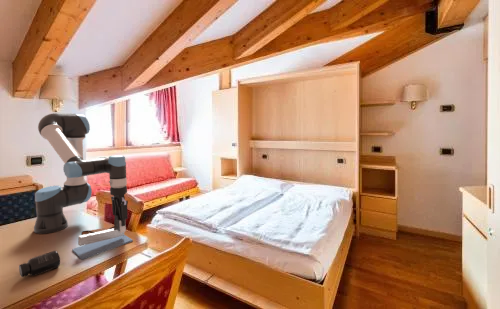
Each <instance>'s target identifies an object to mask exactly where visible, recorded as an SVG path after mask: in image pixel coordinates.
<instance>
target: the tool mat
mask: <svg viewBox="0 0 500 309" xmlns="http://www.w3.org/2000/svg"><path fill="white" fill-rule="evenodd" d="M133 241H134V240H133V239H132V238H131V237H129V236H128V235H126V234H124V236H120V237H116V238H112V239H108V240H103V241H99V242H95V243H91V244H87V245H82V246H78V247H74V248H72V252H73V253H74V254H75V255H76V256H78V258H79V259H80V260H84V259H87V258H89V257H93V256H96V255H98V254H101V253H105V252H107V251H110V250H113V249H115V248H118V247H121V246H123V245H126V244H129V243H133Z"/></svg>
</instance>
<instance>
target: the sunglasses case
mask: <svg viewBox="0 0 500 309" xmlns="http://www.w3.org/2000/svg"><path fill="white" fill-rule="evenodd" d="M109 229H114V225H113V226H110V227H103V228H102V227H101V228H97V229H92V230H91V229H90V230H83V231H82V232H81V234H80V236H81V235H85V234H90V233H95V232H100V231H105V230H109Z"/></svg>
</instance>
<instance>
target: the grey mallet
mask: <svg viewBox="0 0 500 309" xmlns="http://www.w3.org/2000/svg"><path fill="white" fill-rule="evenodd" d="M113 219H114V221H113V226H114V229H109V230H105V231H100V232H95V233H90V234H85V235H81V234H80V235H78V241H77V242H78V243H77V245H78V247H80V246H84V245H87V244H91V243H95V242H99V241H103V240H108V239H112V238H116V237H120V236H124V235H125V231H124V232H121V233H120V227H119V219H120V215H119V214H115V215H114V218H113ZM126 222H127V219H125V223H126Z"/></svg>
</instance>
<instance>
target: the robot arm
mask: <svg viewBox="0 0 500 309" xmlns="http://www.w3.org/2000/svg"><path fill="white" fill-rule="evenodd" d="M90 127H91V126H90V123H89V121H88V118H87V117H86V116H85V115H84V114H79V113H56V112H55V113H49V114H46V115H44V116H43V117H42V118H41V119H40V120H39V122H38V125H37V129H38V133H39V134H40V136H41V137H42V138H43V139H44V140H47V141H48V143H49V144H50V146H52V148H53V150H54V151H55V153H56V154H57V155H58V156H59V158H60V159H61V161H62V162H63V163H64V164H63V166H62V167H63V173H64V176H65V177H66V181H64V182H63V187H61V186H60V185H52V186H51V185H50V186H47V187H42V188H40V189H38V190H36V192H35V193H34V201H35V202H34V203H35V210H36V220H35V223H34V226H33V232H34V233H35V234H40V235H41V234H42V235H43V234H45V235H46V234H51V233H56V232H60V231H62V230H65V229H66V228H67V227H68V220H67V218H66V216H65V215H64V209H63V208H66V207H67V208H68V207H70V206H71V207H72V206H75V205H81V204H83V203H87V202H89V200H90V199H91V197H92V193H93V192H92V186H91V184H90V183H88V182H87V180H86V179H85V176H92V175H99V174H106V173H107V174H108V176H109V180H108V184H109V186H110V187H109V192H110V195H111V197H110V198H111V208H112V215H113V216H115V214H119V215H120V219H119V227H120V233H121V232H124V233H125V232H127V227H126V222H125V219H126V220H128V217H129V216H128V203H129V200H126V199H125V194H127V193H128V187H127V182H128V181H127V180H128V178H127V162H126V156H124V155H118V154H116V155H110V156H108V157H105V156H104V157H98V158H95V159H84V150H83V149H84V145H83V143H84V142H83V141H84V140H85V138H86V135H88V134H89V132H90V130H91V129H90Z"/></svg>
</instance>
